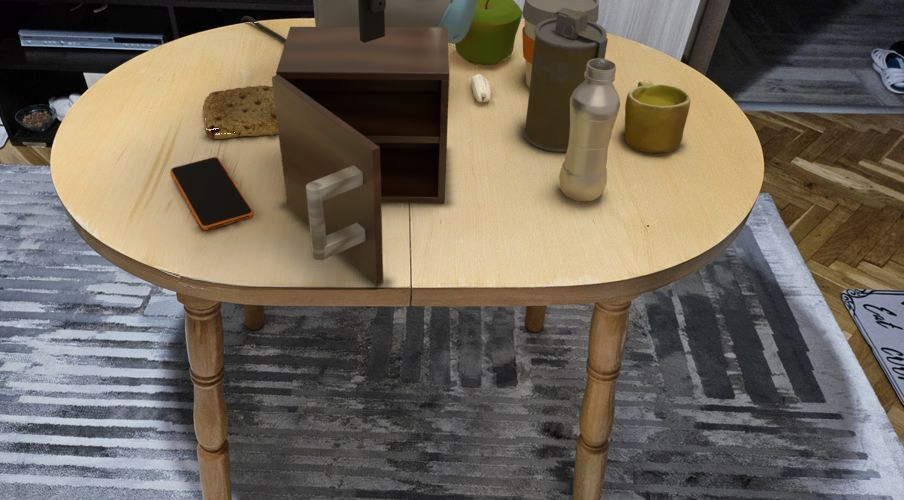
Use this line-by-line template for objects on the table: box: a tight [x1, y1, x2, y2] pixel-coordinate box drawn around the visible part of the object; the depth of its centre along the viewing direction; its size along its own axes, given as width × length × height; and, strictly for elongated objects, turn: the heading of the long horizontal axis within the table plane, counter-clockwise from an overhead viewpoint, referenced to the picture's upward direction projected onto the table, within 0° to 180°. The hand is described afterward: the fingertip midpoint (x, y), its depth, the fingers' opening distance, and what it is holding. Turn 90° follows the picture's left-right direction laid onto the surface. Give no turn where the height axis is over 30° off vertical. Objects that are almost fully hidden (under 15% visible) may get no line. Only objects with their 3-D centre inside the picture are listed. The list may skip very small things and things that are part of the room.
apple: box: [454, 0, 523, 67], centre depth 147 cm, size 12×12×11 cm
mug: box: [624, 79, 691, 154], centre depth 126 cm, size 12×10×10 cm
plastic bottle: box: [558, 58, 621, 202], centre depth 110 cm, size 6×7×20 cm
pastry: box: [202, 85, 279, 140], centre depth 133 cm, size 17×17×3 cm
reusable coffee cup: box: [521, 0, 600, 88], centre depth 138 cm, size 13×13×15 cm
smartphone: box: [169, 156, 255, 231], centre depth 116 cm, size 8×17×1 cm, turn 28°
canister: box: [523, 8, 609, 153], centre depth 122 cm, size 11×10×20 cm
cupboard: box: [275, 26, 450, 204], centre depth 114 cm, size 14×22×20 cm, turn 89°
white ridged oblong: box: [470, 73, 492, 103], centre depth 138 cm, size 3×8×3 cm, turn 4°
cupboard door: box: [271, 74, 384, 287], centre depth 100 cm, size 8×22×20 cm, turn 37°
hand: (336, 17), depth 89 cm, fingers open, 13 cm apart
